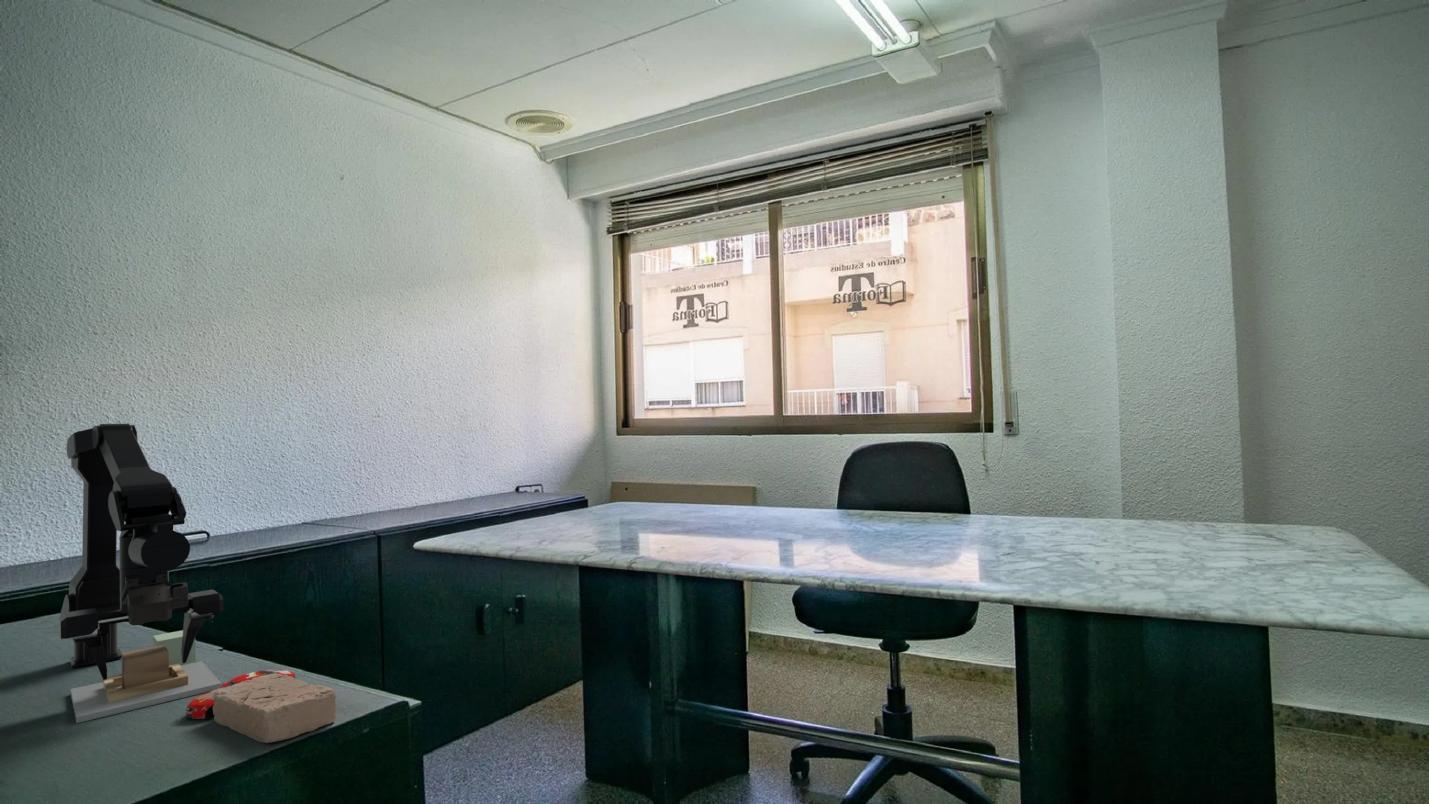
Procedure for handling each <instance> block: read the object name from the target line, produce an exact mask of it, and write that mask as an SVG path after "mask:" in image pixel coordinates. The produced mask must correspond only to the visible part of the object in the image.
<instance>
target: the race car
mask: <svg viewBox="0 0 1429 804" xmlns="http://www.w3.org/2000/svg"><path fill="white" fill-rule="evenodd" d="M269 674H281V675H287V676H291V677H293V678H295V679H297V676H296V674H295V673H294V672H292V670H291V671H290V670H272V669H269V670H268V669H267V670H266V669H265V670H258V671H257V670H256V671H251V672H248V673H243V674H241V675H237V676H236V677H233V678H231V679H230V680H228V681H227V682H225V683H224V682H222V684H221V687H220V688H218V689H216V690H213V691H209V692H205V693H202V694H200V695H199V696H197V697H194V698H193V699H192V700H190V702H188V705H187V706H186V708H185V717H187V718H188V719H194V720H200V719H201V720H204V719H206V720H208V721H210V720H213V719H214V716H215V715H214V714H213V706H214V703H215V700H214V699H213V696H214V693H215V691H217V690H219V689H223V688H226V687H229V686H232V685H234V684H238V683H241V682H244V681H246V680H251V679H253V678H257V677H260V676H264V675H269Z"/></svg>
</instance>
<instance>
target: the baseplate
mask: <svg viewBox="0 0 1429 804" xmlns="http://www.w3.org/2000/svg"><path fill="white" fill-rule="evenodd" d="M221 686H222V682H221V681H220V680H219V679H218V678H217V676H215V674H214V673H213V672H212V671H211V670H210V669H209V667H208V666H207V665H206V664H205V663H204V662H203V661H202V660H201V661H196V662H195V663H190V664H186V665H181V666H180V665H179V664H175V665H170V666H169V679H166V680H161V681H157V682H152V683H148V684H143V685H139V686H134V687H130V688H125V689H123V688H122V675H117V676H113V677H110V678H109V677H108V678H107V680H103V679H102V682H99V683H92V684H88V685H84V686H78V687H74V688H70V698H71V699H70V700H71V703H72V708H73V713H74V717H75V724H79V723H83V722H87V721H92V720H95V719H101V718H104V717H108V716H113V715H117V714H121V713H124V712H129V711H133V710H139V709H141V708H148V707H150V706H155V705H158V704H162V703H167V702H171V701H172V702H173V701H176V700H179V699H183V698H188V697H192V696H196V695H202V694H206V693H208V692H211V691H213V690H216V689H218V688H220V687H221Z"/></svg>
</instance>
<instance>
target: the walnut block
mask: <svg viewBox="0 0 1429 804" xmlns="http://www.w3.org/2000/svg"><path fill="white" fill-rule="evenodd" d="M121 654H122V658H121V676H122V688H123V689H125V688H130V687H134V686H139V685H143V684H148V683H152V682H157V681H161V680H166V679H169V651H168V650H167V648H166V647H165V646H164V645H161V646H156V647H153V646H152V647H146V648H141V649H136V650H132V651H124V652H121Z"/></svg>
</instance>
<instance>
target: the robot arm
mask: <svg viewBox="0 0 1429 804" xmlns="http://www.w3.org/2000/svg"><path fill="white" fill-rule="evenodd" d="M136 428H137V427H136V425H134V424H130V423H100V424H98V425H94V426H93V427H91V428H89V429H83V430H78V431H76V432H73V433H72V434H71V435H69V437H68V438H67V442H66V455H67V459H69V460H70V462H71V463H70V466H71V468H72V469H73V471H74V472H75V473H76V474H77V476H78V477H79V478H80V479H81V480H82V482H83V489H82V490H83V491H82V492H83V493H82V494H83V495H82V497H83V498H82V499H83V500H82V503H83V504H82V505H83V506H82V556H81V557H82V559H81V560H82V561H81V562H82V564H81V567H79V570H77V572H76V574H75V575H74V576H73V577H72V578H71V579H70V581H69V584H68V585H69V586H68V594H65V596H64V599H63V603H62V607H61V610H60V615H59V618H58V619H59V620H58V621H59V622H58V625H59V628H58V631H59V637H60V640H65V639H66V640H68V639H72V642H73V656H72V657H70V658H69V662H70V666H71V668H79V667H84V666H89V665H92V664H93V665H95V664H96V665H97V668H98V671H99V673H100V676H101V677H102V681H103V680H107V679H108V666H107V662H110V661H114V660H119V659H122V652H121V650H120V648H119V647H118V638H119V637H118V624H120V623H126V622H128V624H129V625H131V626H142V625H144V624H145V623H152V622H158V621H159V622H164V621H168V620H170V619H172V617H173V614H179V613H183V614H184V615H183V617H184V618H183V627H182V628H183V629H182V630H183V637H182V648H181V657H182V663H186V661H187V659H188V656H189V653H190V650H191V648H192V645H193V642H194V639H195V640H196V637H197V634H198V633H199V631H200V629H201V628H202V625H203V624H204V623H205V622H206V621H207V620H210V619H213V618H214V613H221V612H223V611H224V609H225V608H224V596H223V595H222V594H220V593H219V592H217V590H214V589H208V590H201V591H195V592H189V586H188V582H187V581H185V582H177V583H172V584H171V585H170V581H169V579H170V576H169V575H170V571H172V570H175V569H177V568H178V567H180V566H182V565H183V564H184V563H185V561H187V559H188V557H189V555H190V551H191V544H190V542H189V540H188V538H187V536H185V535H184V534H183V533H181V532H179V531H175V530H174V526H179V525H184V524H185V523H186V521H185V519H186V516H187V510H186V507H185V505H184V502H183V500H182V496H181V494H180V493H179V492H178V490H177V487H175V486H173V484H172V482H171V481H170V479H169V478H168V477H167V476H166V475H165V474H164V473H162V472H159V471H156V470H153V469H152V467H150V464H149V462H148V460H147V458H146V455H145V454H144V452H143V450H142V447H141V445H140V444H139V441H138V431H137V429H136ZM118 532H120V534H119V539H118V535H117V534H118ZM118 540H119V567H118V566H117V550H118V549H117V548H118V547H117V545H118V543H117V542H118Z"/></svg>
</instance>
